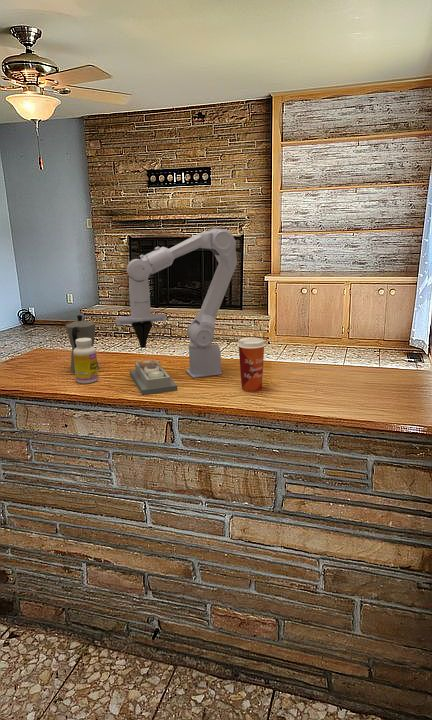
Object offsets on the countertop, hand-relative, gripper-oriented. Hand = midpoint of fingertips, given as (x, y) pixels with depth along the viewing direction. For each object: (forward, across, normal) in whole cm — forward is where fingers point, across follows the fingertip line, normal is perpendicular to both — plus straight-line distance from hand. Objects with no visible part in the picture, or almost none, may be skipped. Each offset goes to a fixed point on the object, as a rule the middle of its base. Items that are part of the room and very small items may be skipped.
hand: (142, 346), depth 152 cm
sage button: (+9, -1, +10) cm, 13 cm away
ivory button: (+9, -1, +4) cm, 9 cm away
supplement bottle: (+10, +16, -6) cm, 20 cm away
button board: (+10, -2, +4) cm, 11 cm away
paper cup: (+10, -26, +21) cm, 35 cm away
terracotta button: (+9, -2, -2) cm, 9 cm away
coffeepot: (+10, +16, -17) cm, 26 cm away
